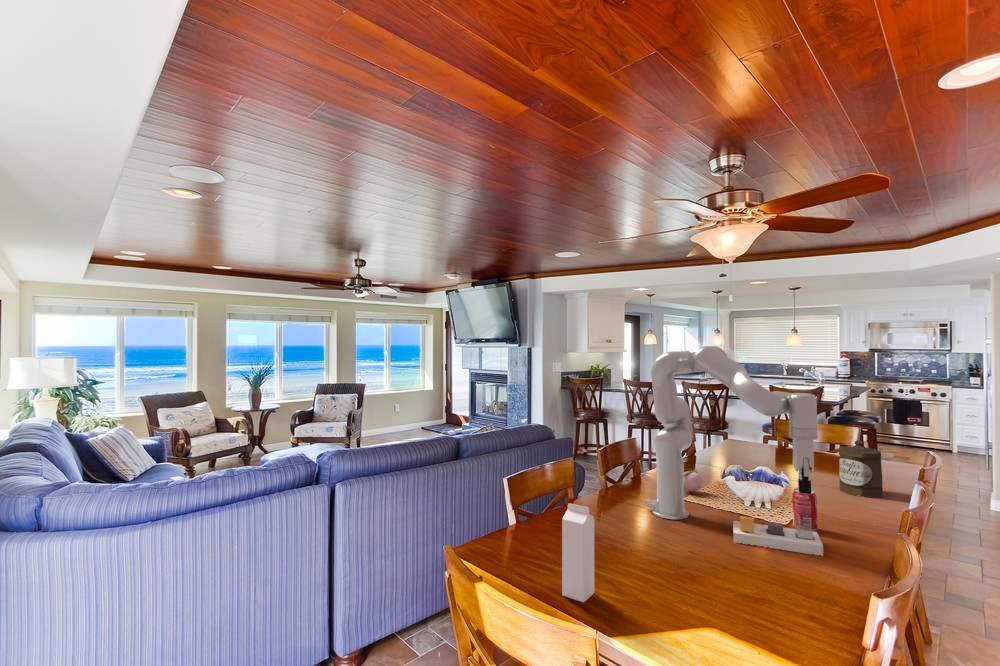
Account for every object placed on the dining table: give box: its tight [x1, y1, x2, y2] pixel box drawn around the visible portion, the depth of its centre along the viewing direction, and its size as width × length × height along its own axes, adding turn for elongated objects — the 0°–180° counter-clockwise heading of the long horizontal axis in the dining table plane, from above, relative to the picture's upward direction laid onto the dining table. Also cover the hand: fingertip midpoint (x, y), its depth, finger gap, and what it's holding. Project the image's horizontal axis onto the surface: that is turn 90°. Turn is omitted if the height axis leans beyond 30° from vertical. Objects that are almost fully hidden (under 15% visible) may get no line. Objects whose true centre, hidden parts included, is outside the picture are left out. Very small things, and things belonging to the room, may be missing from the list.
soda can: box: [792, 487, 819, 532], centre depth 168 cm, size 7×7×13 cm
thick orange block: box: [739, 515, 755, 533], centre depth 158 cm, size 4×2×7 cm, turn 65°
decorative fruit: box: [684, 468, 703, 494], centre depth 210 cm, size 9×8×10 cm
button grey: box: [795, 525, 813, 540], centre depth 154 cm, size 4×4×4 cm
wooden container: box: [838, 439, 883, 498], centre depth 211 cm, size 15×15×22 cm
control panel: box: [732, 520, 824, 557], centre depth 157 cm, size 24×12×3 cm, turn 65°
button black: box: [767, 521, 784, 536], centre depth 157 cm, size 4×4×4 cm
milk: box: [561, 502, 595, 604], centre depth 124 cm, size 6×6×22 cm
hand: (804, 492), depth 154 cm, fingers closed
